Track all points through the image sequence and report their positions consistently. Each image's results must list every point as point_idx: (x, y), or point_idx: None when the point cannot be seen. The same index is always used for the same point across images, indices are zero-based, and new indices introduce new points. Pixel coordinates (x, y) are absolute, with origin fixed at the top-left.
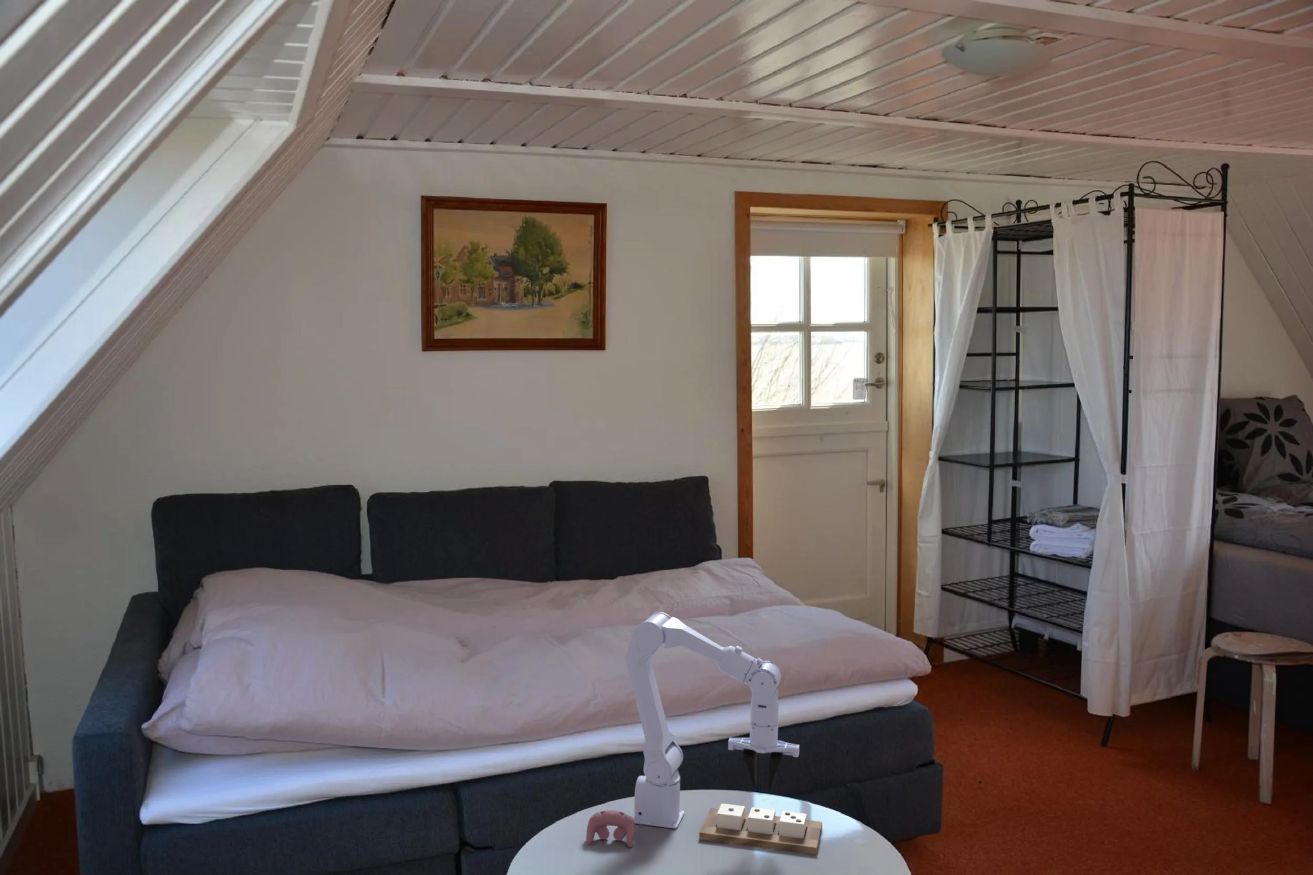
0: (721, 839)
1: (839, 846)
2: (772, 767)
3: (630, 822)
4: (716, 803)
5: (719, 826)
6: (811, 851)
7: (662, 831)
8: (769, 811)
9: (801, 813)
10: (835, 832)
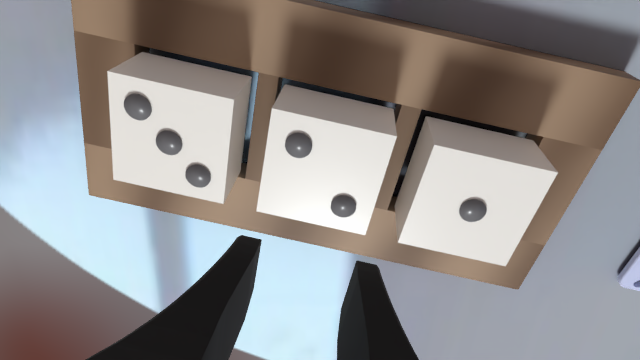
0: (526, 50)
1: (10, 39)
2: (165, 357)
3: None
4: (469, 336)
5: (523, 139)
6: None
7: None
8: (284, 197)
9: (136, 181)
10: (51, 154)
